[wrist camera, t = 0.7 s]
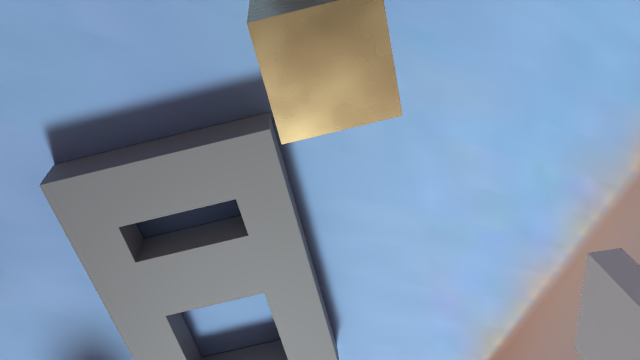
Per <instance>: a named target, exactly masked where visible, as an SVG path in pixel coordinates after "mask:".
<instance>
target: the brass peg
mask: <svg viewBox="0 0 640 360" xmlns="http://www.w3.org/2000/svg"><path fill="white" fill-rule="evenodd" d="M247 25H248V29H249V32H250V36H251V39H252V43H253V46H254V50H255V53H256V57H257V60H258V64H259V67H260V71H261V74H262V78H263V81H264V85H265V88H266V92H267V95H268V99H269V102H270V106H271V109H272V113H273V116H274V120H275V123H276V126H277V130H278V133H279V137H280V140H281V144H286V143H290V142H294V141H299V140H303V139H307V138H311V137H315V136H319V135H323V134H328V133H332V132H336V131H340V130H344V129H348V128H352V127H357V126H361V125H365V124H369V123H373V122H377V121H381V120H385V119H390V118H394V117H398V116H402V110H401V104H400V98H399V92H398V86H397V79H396V73H395V67H394V61H393V55H392V49H391V43H390V37H389V31H388V25H387V19H386V12H385V6H384V0H250V2H249V10H248V19H247Z"/></svg>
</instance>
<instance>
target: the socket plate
mask: <svg viewBox="0 0 640 360" xmlns="http://www.w3.org/2000/svg"><path fill="white" fill-rule="evenodd" d="M39 186H40V188H41V189H42V191H43V193H44V195H45V197H46V199H47V201H48V202H49V204H50V206H51V208H52V210H53V212H54V213H55V215H56V217H57V219H58V221H59V223H60V224H61V226H62V228H63V230H64V232H65V234H66V236H67V237H68V239H69V241H70V243H71V245H72V247H73V248H74V250H75V252H76V254H77V256H78V258H79V259H80V261H81V263H82V265H83V267H84V269H85V271H86V272H87V274H88V276H89V278H90V280H91V282H92V283H93V285H94V287H95V289H96V291H97V293H98V294H99V296H100V298H101V300H102V302H103V304H104V306H105V307H106V309H107V311H108V313H109V315H110V317H111V318H112V320H113V322H114V324H115V326H116V328H117V330H118V331H119V333H120V335H121V337H122V339H123V341H124V342H125V344H126V346H127V348H128V350H129V352H130V353H131V355H132V357H133V359H134V360H339V357H338V351H337V344H336V341H335V337H334V334H333V331H332V327H331V324H330V320H329V317H328V313H327V310H326V306H325V303H324V299H323V296H322V292H321V289H320V286H319V282H318V279H317V275H316V272H315V268H314V265H313V261H312V258H311V254H310V251H309V247H308V244H307V240H306V237H305V234H304V230H303V227H302V223H301V220H300V216H299V213H298V209H297V206H296V202H295V199H294V195H293V192H292V189H291V185H290V182H289V178H288V175H287V171H286V168H285V164H284V161H283V157H282V154H281V150H280V147H279V143H278V140H277V137H276V133H275V130H274V126H273V123H272V119H271V116H270V112H268V113H264V114H260V115H256V116H252V117H248V118H243V119H239V120H235V121H231V122H227V123H223V124H219V125H215V126H211V127H207V128H202V129H198V130H194V131H190V132H186V133H182V134H178V135H174V136H170V137H166V138H161V139H157V140H153V141H149V142H145V143H141V144H137V145H133V146H129V147H125V148H120V149H116V150H112V151H108V152H104V153H100V154H96V155H92V156H88V157H84V158H79V159H75V160H71V161H67V162H63V163H59V164H55V165H54V166H53V167H52V168H51V170H50V171H49V173H48V174H47V175H46V177H45V178H44V179H43V181H42V182H41V184H40V185H39ZM235 199H236V201H237V204H238V207H239V210H240V212H241V216H237V217H233V218H229V219H224V220H220V221H216V222H212V223H208V224H203V225H199V226H195V227H191V228H187V229H182V230H178V231H174V232H170V233H166V234H161V235H157V236H153V237H149V238H145V239H143V237H142V235H141V233H140V231H139V229H138V226H137V224H136V223H139V222H143V221H147V220H151V219H156V218H160V217H164V216H168V215H172V214H176V213H181V212H185V211H189V210H193V209H197V208H201V207H206V206H210V205H214V204H218V203H222V202H227V201H231V200H235ZM262 293H265V296H266V299H267V302H268V304H269V307H270V310H271V313H272V316H273V319H274V321H275V324H276V327H277V330H278V333H279V336H280V338H281V340H277V341H272V342H268V343H264V344H259V345H255V346H251V347H246V348H242V349H238V350H233V351H229V352H225V353H220V354H216V355H212V356H207V357H203V358H202V357H201V355H200V352H199V350H198V348H197V346H196V344H195V342H194V339H193V337H192V335H191V333H190V331H189V328H188V326H187V324H186V322H185V320H184V318H183V315H182V313H181V312H185V311H189V310H193V309H198V308H202V307H206V306H210V305H215V304H219V303H223V302H228V301H232V300H236V299H240V298H245V297H249V296H253V295H258V294H262Z"/></svg>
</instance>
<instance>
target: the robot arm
mask: <svg viewBox="0 0 640 360" xmlns="http://www.w3.org/2000/svg"><path fill="white" fill-rule="evenodd" d="M574 349H575V350H576V352H577V353H578V354H579V356H580V357H581V358H582V360H640V265H639V264H638V263H637V262H636V261H635V260H633V259H632V258H631V257H630V256H629V255H628V254H627V253H626V252H625V251H624V250H623V249H621V248H619V249H612V250H605V251H599V252H591V253H588V255H587V261H586V269H585V276H584V282H583V290H582V296H581V304H580V310H579V317H578V324H577V331H576V339H575V345H574Z"/></svg>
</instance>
